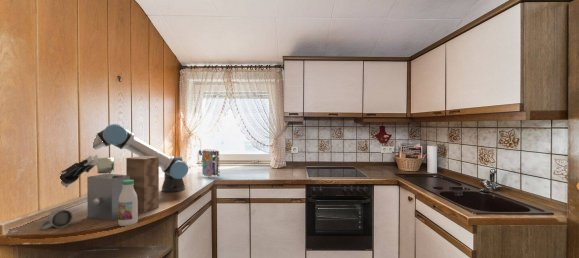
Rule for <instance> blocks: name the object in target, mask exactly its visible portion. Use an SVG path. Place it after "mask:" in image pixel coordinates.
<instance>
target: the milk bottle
mask: <svg viewBox="0 0 579 258" xmlns="http://www.w3.org/2000/svg"><path fill="white" fill-rule="evenodd" d="M133 185H134V180H124V181H122V186H123V189H122V192H121V194H120V196H119V202H118V219H117V220H118V225H119V226H121V227H127V226H132V225H133V226H134V225H135V224H137V223H138V221H139V220H138V214H139V212H138V201H137V194H136V192H135V190H134V188H133Z"/></svg>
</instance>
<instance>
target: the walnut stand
mask: <svg viewBox="0 0 579 258" xmlns="http://www.w3.org/2000/svg"><path fill="white" fill-rule="evenodd" d="M125 160H126V161H125V163H126V165H125V166H126V167H125V169H126V171H125V172H126V174H125V175H130V180H134V185H133V188H134V190H135V192H136V194H137V201H138V213H147V212H150V211H153V210H155V209H158V208H159V207H160V206H159V205H160V202H159V201H160V199H159V198H160V197H159V196H160V195H159V194H160V189H159V187H160V183H159V181H160V180H159V179H160V177H159V176H160V172H159V171H160V169H159V168H160V167H159V157H151V156H138V155H137V156H133V157H132V156H131V157H126V159H125Z"/></svg>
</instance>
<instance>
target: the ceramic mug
mask: <svg viewBox="0 0 579 258" xmlns="http://www.w3.org/2000/svg"><path fill="white" fill-rule="evenodd" d="M73 215H74V214H73V213H72V212H71V211H70V210H68V209H65V208H56V209H54V210H52V211H51V212H50V213H49V215H48V220H46V221H45V222H43V223H42V224H40V226H39V228H40V230H42V231H45V230H47V229H49V228H51V227H55V228H56V229H62V228H66V227H67V226H69V225H70V224H71V223H72V222H73V219H74V217H73Z"/></svg>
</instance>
